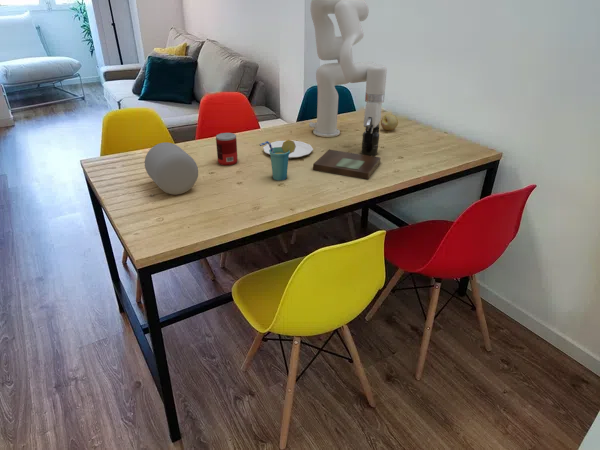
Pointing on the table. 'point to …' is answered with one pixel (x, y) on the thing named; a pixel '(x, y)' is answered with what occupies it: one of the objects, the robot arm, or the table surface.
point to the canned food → (226, 149)
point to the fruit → (389, 122)
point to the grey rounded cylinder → (171, 168)
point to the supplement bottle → (371, 144)
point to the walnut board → (347, 164)
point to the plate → (299, 150)
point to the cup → (280, 158)
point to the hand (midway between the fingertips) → (371, 139)
